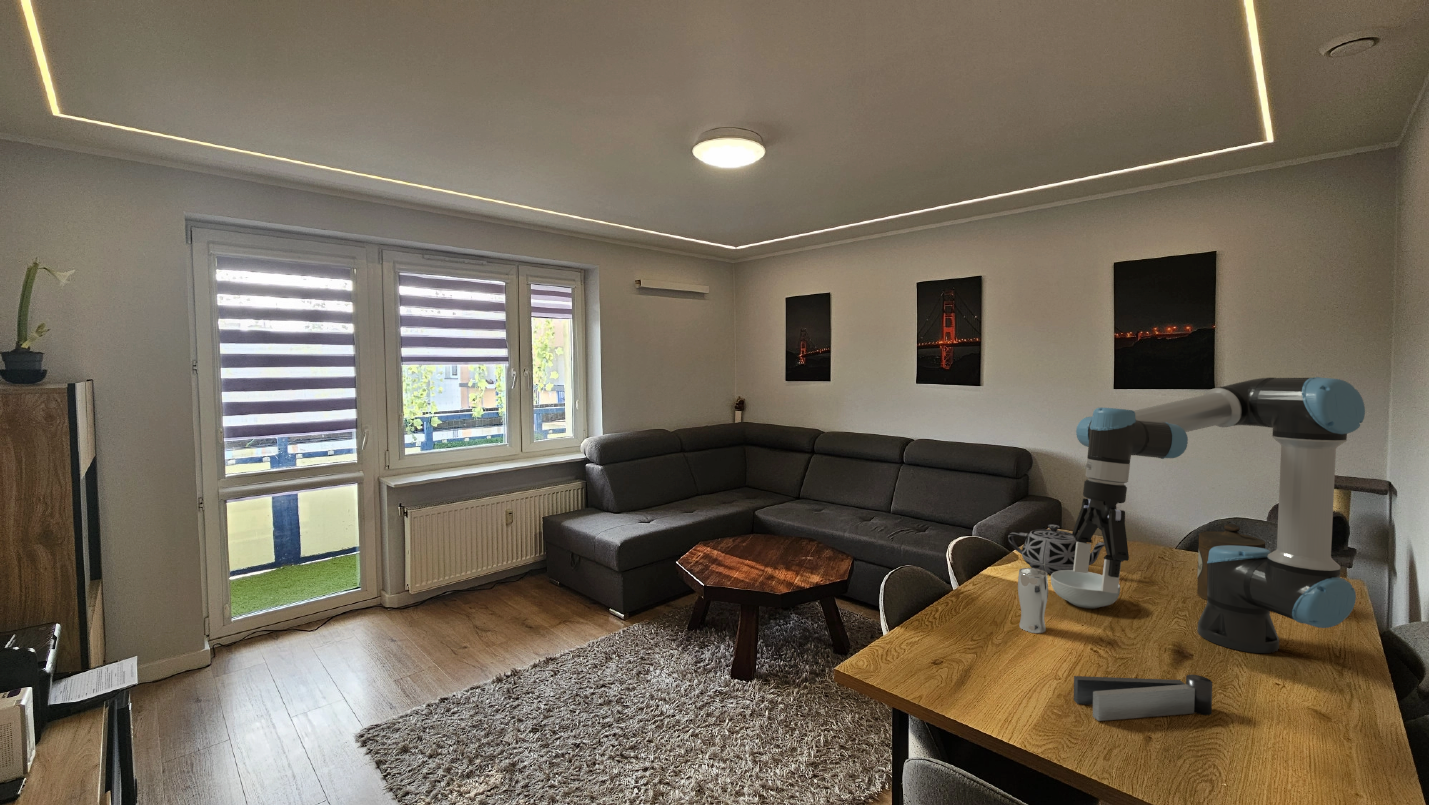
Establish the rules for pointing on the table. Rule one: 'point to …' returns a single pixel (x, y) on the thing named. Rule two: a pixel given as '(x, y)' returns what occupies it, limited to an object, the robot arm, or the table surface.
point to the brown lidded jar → (1219, 539)
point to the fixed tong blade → (1089, 684)
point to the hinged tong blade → (1143, 702)
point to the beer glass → (1032, 599)
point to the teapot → (1051, 549)
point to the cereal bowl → (1082, 589)
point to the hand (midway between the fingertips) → (1093, 581)
